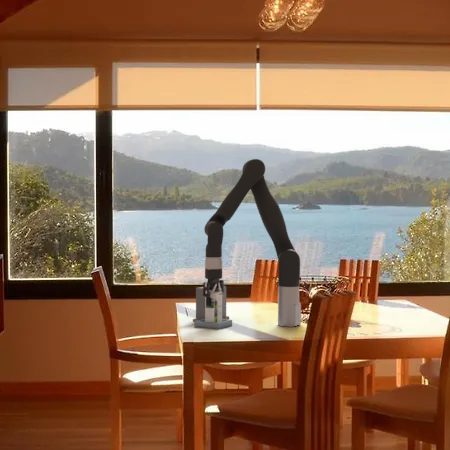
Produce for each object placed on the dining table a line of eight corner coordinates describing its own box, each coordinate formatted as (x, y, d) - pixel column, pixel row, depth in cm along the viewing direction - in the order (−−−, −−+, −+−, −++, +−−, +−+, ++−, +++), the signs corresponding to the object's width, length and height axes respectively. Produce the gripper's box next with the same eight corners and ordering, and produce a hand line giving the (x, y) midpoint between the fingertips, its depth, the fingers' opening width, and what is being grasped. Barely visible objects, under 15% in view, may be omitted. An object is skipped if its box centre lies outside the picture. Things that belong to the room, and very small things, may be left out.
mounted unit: (229, 318, 381) (229, 286, 380) (212, 323, 367) (212, 289, 366) (210, 316, 385) (210, 284, 385) (192, 321, 371) (192, 288, 371)
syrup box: (204, 325, 356) (204, 291, 356) (211, 323, 361) (211, 290, 361) (216, 326, 353) (216, 292, 353) (222, 324, 359) (222, 291, 358)
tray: (232, 325, 360) (232, 319, 360) (218, 329, 349) (218, 323, 349) (208, 323, 365) (208, 317, 365) (194, 327, 355) (194, 321, 355)
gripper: (214, 266, 364) (213, 302, 365) (197, 268, 352) (197, 306, 352) (229, 266, 361) (228, 303, 361) (213, 269, 348) (213, 307, 349)
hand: (213, 305), depth 357 cm, fingers open, 8 cm apart
